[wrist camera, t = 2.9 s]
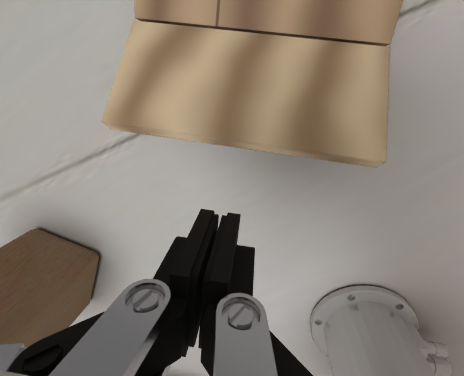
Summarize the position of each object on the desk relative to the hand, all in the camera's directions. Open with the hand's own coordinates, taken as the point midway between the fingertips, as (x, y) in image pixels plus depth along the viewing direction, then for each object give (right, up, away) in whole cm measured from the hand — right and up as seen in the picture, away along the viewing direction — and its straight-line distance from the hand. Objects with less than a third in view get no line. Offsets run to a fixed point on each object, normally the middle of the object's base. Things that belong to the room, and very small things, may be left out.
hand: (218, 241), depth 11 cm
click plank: (+2, +10, +11) cm, 15 cm away
